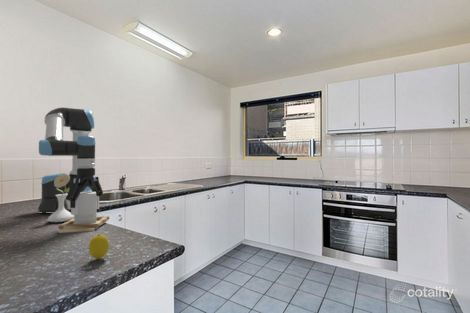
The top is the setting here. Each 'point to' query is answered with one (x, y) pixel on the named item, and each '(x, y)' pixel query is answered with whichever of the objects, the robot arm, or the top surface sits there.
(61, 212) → the flower in vase
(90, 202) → the supplement box
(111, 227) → the top surface
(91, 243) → the lemon
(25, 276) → the top surface
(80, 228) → the tray
